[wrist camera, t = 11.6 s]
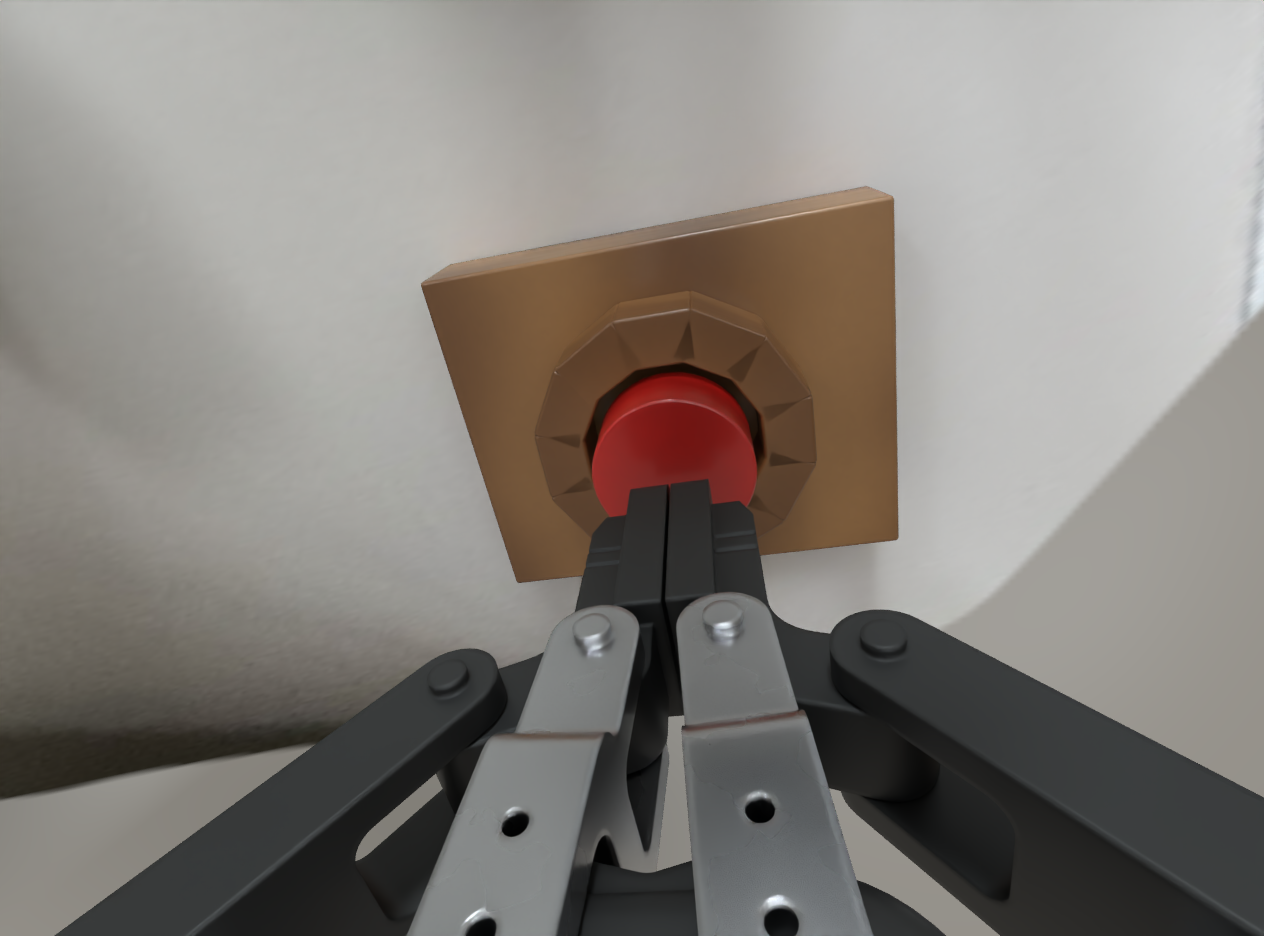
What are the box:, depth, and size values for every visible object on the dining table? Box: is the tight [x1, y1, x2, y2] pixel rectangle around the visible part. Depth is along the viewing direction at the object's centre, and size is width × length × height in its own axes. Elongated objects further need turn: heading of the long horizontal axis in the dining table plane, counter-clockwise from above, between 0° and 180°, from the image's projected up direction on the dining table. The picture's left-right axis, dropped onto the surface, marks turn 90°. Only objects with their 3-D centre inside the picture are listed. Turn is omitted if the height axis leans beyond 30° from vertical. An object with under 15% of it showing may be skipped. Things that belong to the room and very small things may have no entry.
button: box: [592, 372, 757, 517], centre depth 16 cm, size 4×4×2 cm
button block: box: [421, 186, 898, 583], centre depth 18 cm, size 11×9×4 cm
